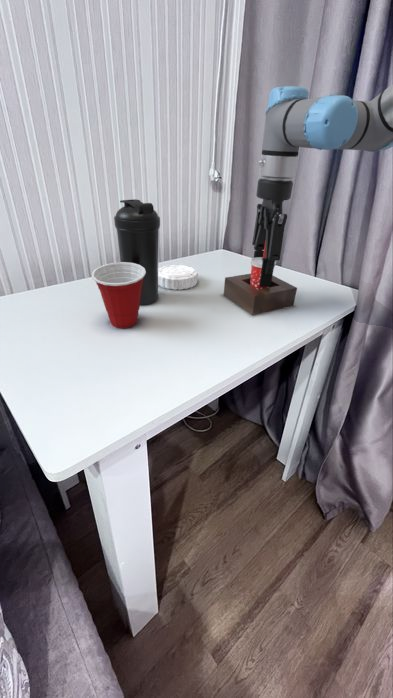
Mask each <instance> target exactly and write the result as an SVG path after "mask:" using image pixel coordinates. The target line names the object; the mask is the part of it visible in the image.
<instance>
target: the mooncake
mask: <svg viewBox="0 0 393 698" xmlns="http://www.w3.org/2000/svg"><path fill="white" fill-rule="evenodd" d="M198 274H199V273H198V271H197V270H196V269H195V268H193V267H190V266H187V265H185V264H170V265H167V264H166V265H163V266H161V267H158V287H161V288H163V289H167V290H175V291H176V290H180V291H182V290H188V289H190V288H193V287H194V286H197V284H198V276H199V275H198Z"/></svg>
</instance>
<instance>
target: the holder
mask: <svg viewBox="0 0 393 698" xmlns="http://www.w3.org/2000/svg"><path fill="white" fill-rule="evenodd" d="M250 279H251V273H244V274H239V275H233V276H227V277H224V285H223V297H224V298H227V299H228V300H230V301H231V302H232V303H233V304H235V305H237V306H238V307H239V308H241V309H242V310H244V311H245V312H246V313H248V314H250V315H251V316H256V315H261V314H265V313H268V312H269V313H270V312H274V311H278V310H282V309H287V308H292V307H294V306H295V302H296V301H295V300H296V295H297V292H298V287H296V286H295V285H293V284H290V283H288V282H287V281H285V280H282V279H281V278H278V277H277V276H275V275H273V276H272V281H271V286H270V287H269V288H264V289H258V290H257V289H256V288H254V287H252V286H251V285H250Z"/></svg>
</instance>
